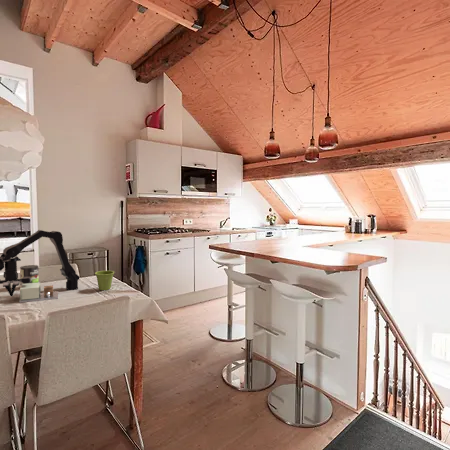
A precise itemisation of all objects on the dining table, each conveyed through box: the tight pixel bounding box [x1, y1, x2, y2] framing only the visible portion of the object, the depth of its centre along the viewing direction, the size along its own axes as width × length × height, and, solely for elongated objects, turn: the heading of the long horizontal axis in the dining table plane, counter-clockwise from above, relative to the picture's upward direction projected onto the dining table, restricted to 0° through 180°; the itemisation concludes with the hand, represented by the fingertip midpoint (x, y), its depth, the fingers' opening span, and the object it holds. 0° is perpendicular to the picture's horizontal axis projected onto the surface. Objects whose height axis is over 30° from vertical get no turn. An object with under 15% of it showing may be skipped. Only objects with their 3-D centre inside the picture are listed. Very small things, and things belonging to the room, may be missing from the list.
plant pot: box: [95, 270, 115, 291], centre depth 200 cm, size 12×12×11 cm
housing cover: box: [19, 282, 42, 300], centre depth 178 cm, size 9×13×6 cm
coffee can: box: [19, 264, 40, 287], centre depth 201 cm, size 10×10×14 cm
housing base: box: [18, 290, 59, 304], centre depth 181 cm, size 19×13×4 cm
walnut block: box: [43, 284, 54, 296], centre depth 183 cm, size 4×4×5 cm
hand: (11, 296), depth 174 cm, fingers closed
